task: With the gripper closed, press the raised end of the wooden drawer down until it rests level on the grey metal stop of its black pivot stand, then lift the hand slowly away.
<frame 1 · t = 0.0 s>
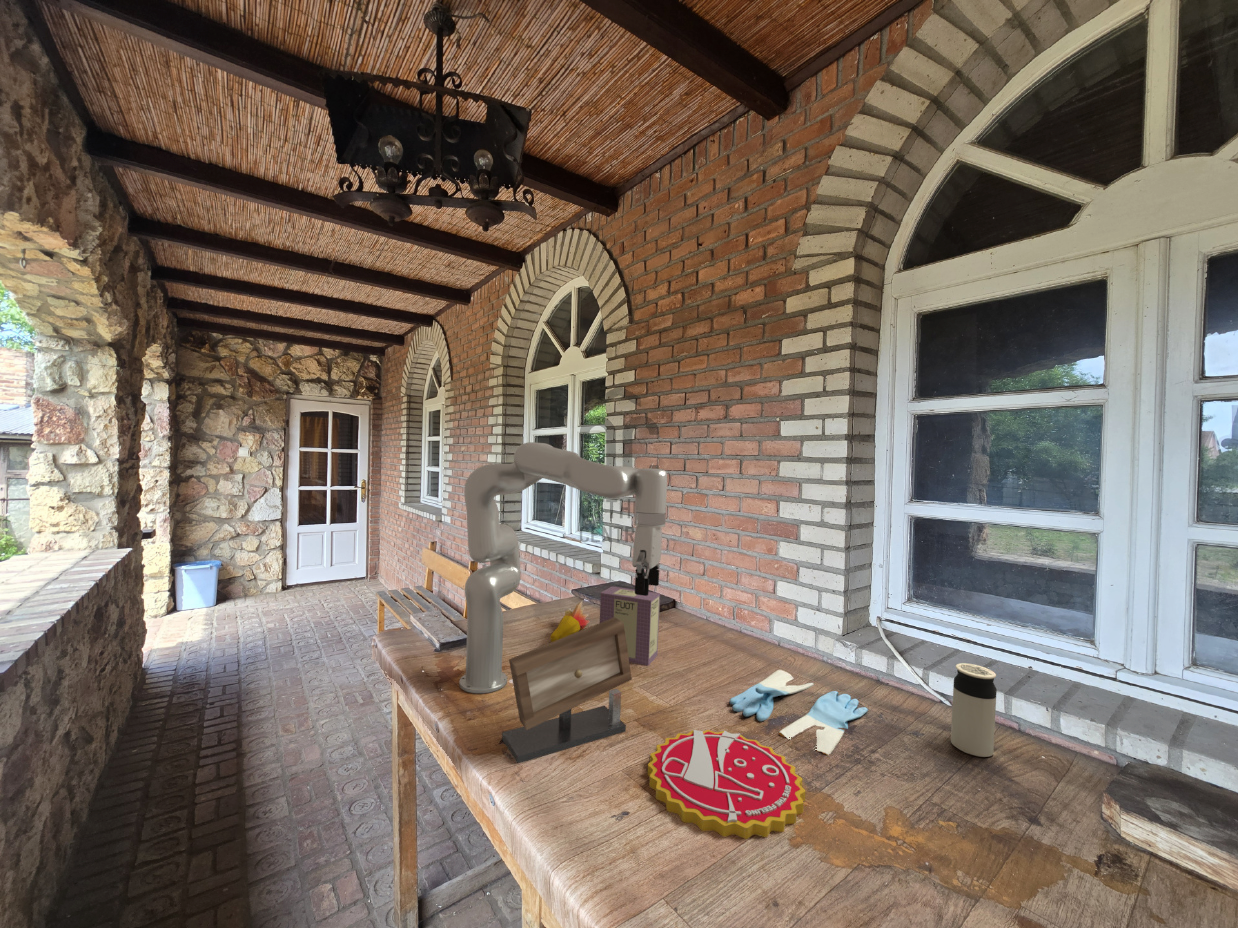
hand: (647, 589, 122), 31 cm above the table, tool pointing down, fingers open, 9 cm apart
rubber gloves: (798, 710, 130), on the table
torch: (567, 636, 175), on the table
wooden drawer: (574, 670, 110), point 16 cm above the table, hinge at 12.0°
box: (628, 656, 160), on the table
pivot stand: (570, 741, 111), on the table
decorative sign: (723, 783, 100), on the table
travel mug: (971, 748, 115), on the table
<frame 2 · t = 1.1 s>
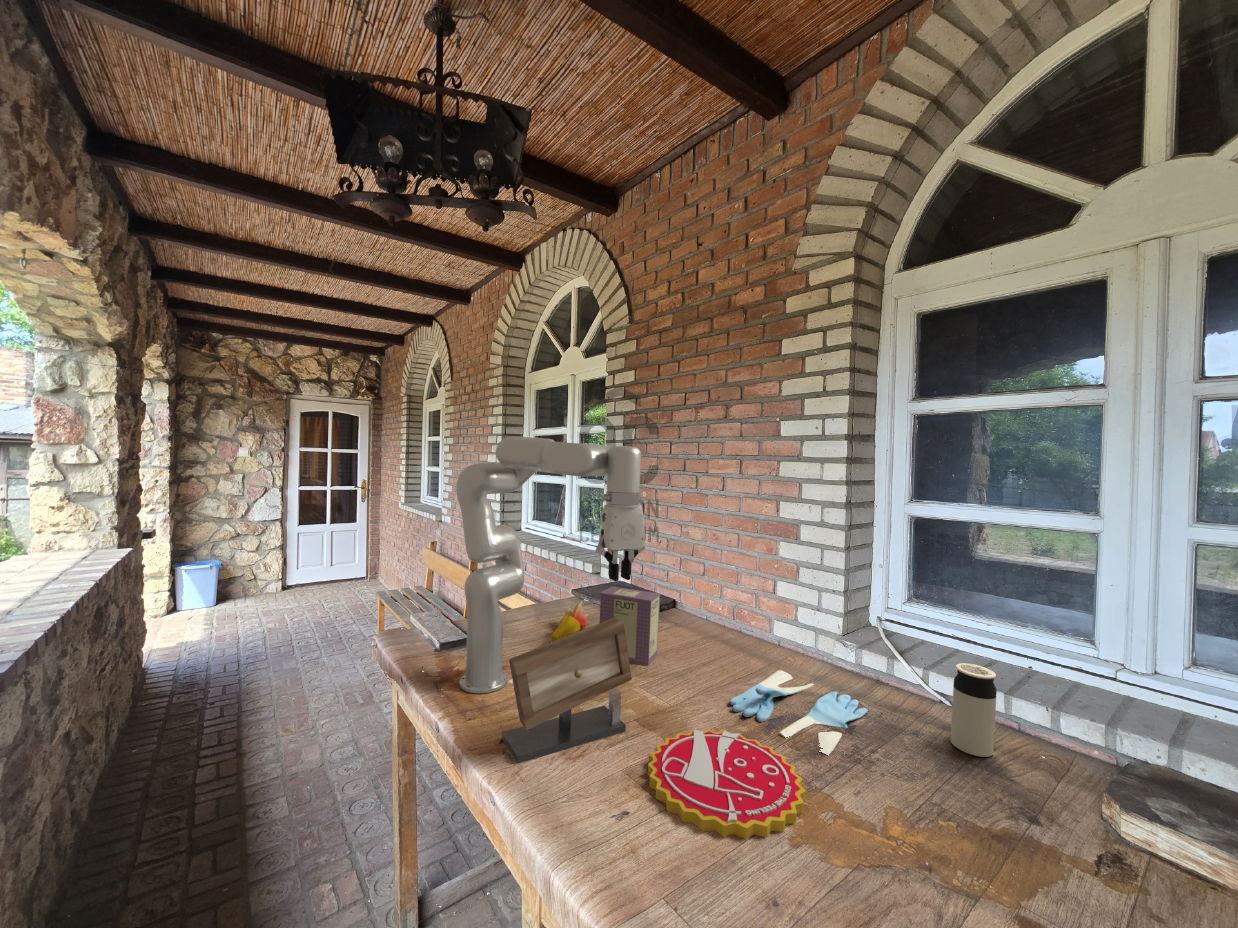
hand: (619, 578, 116), 35 cm above the table, tool pointing down, fingers closed
nothing on the table moved.
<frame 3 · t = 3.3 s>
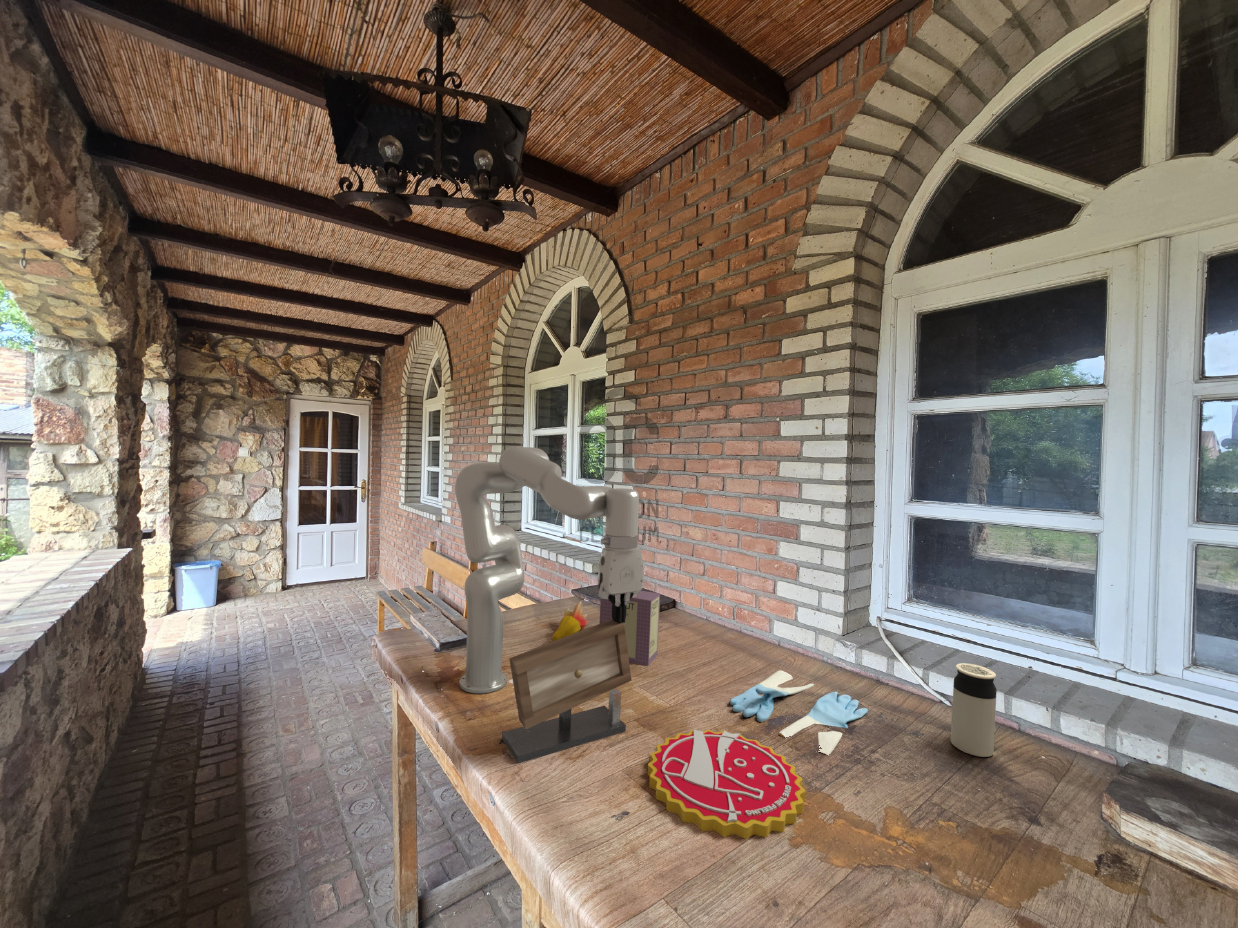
hand: (618, 621, 116), 25 cm above the table, tool pointing down, fingers closed
wooden drawer: (574, 670, 110), point 16 cm above the table, hinge at 11.1°, touching gripper
everything else where it was.
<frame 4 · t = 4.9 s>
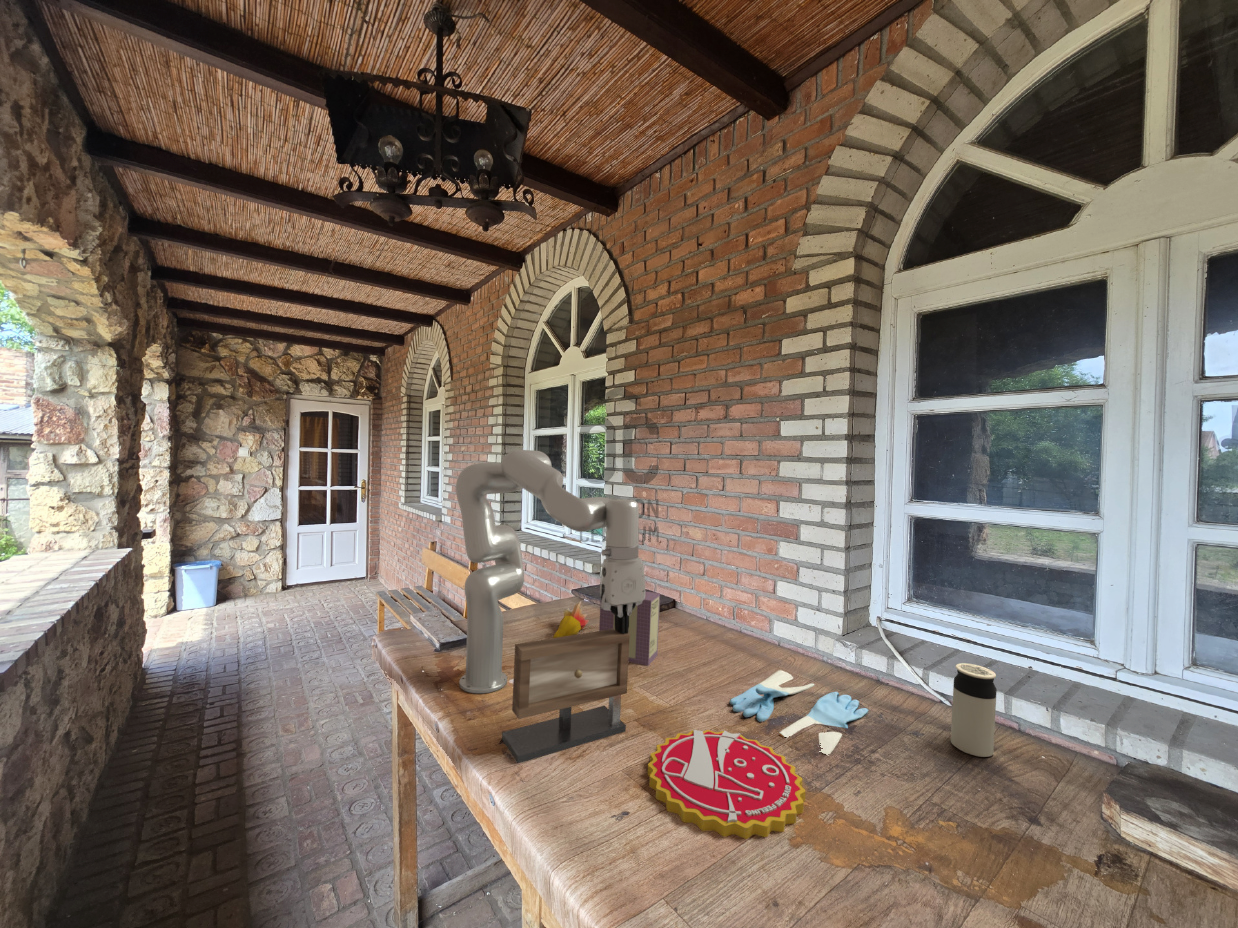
hand: (621, 632, 116), 23 cm above the table, tool pointing down, fingers closed
wooden drawer: (574, 670, 110), point 16 cm above the table, hinge at -0.6°, touching gripper, pivot stand
everything else where it was.
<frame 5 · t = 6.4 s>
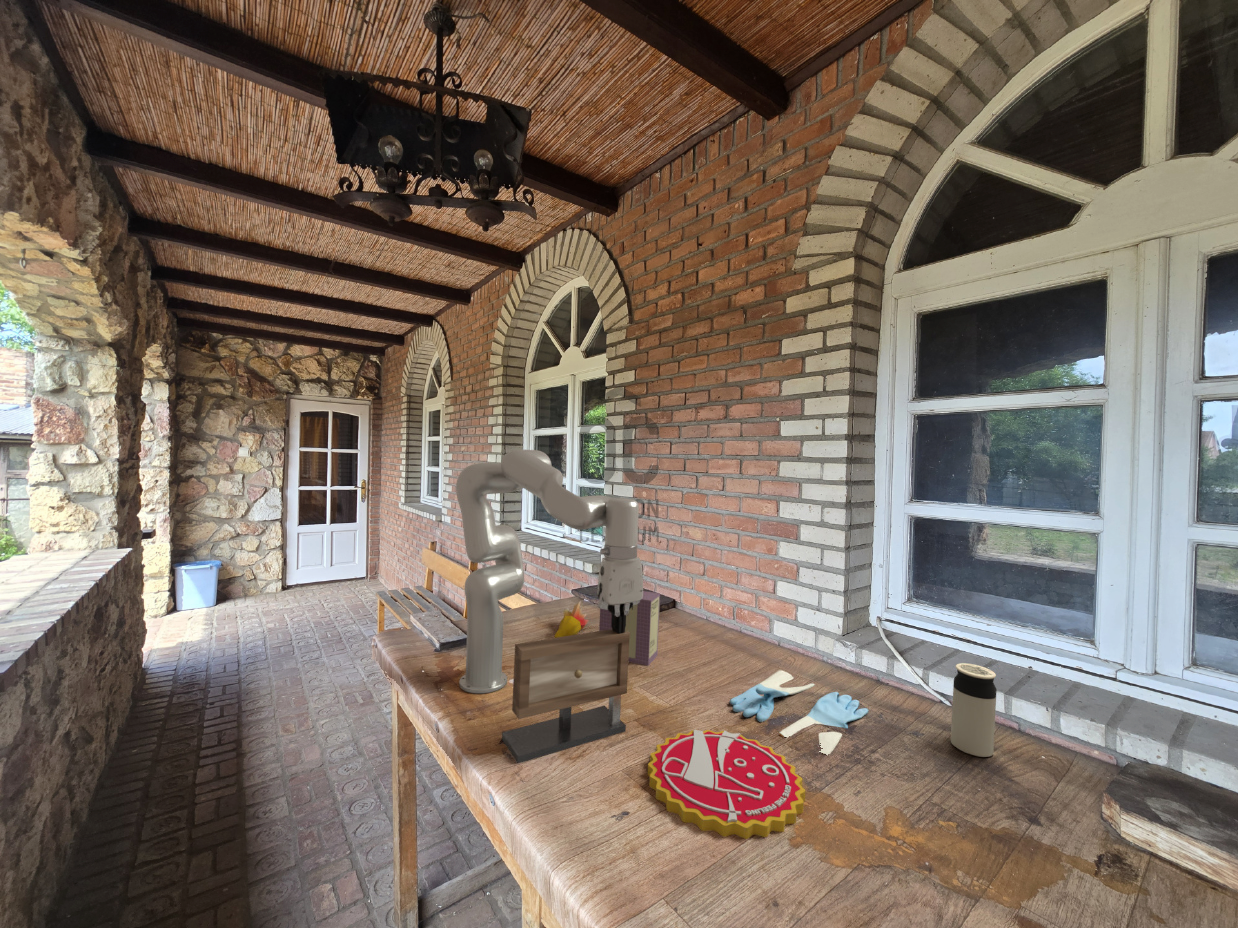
hand: (618, 631, 116), 23 cm above the table, tool pointing down, fingers closed
nothing on the table moved.
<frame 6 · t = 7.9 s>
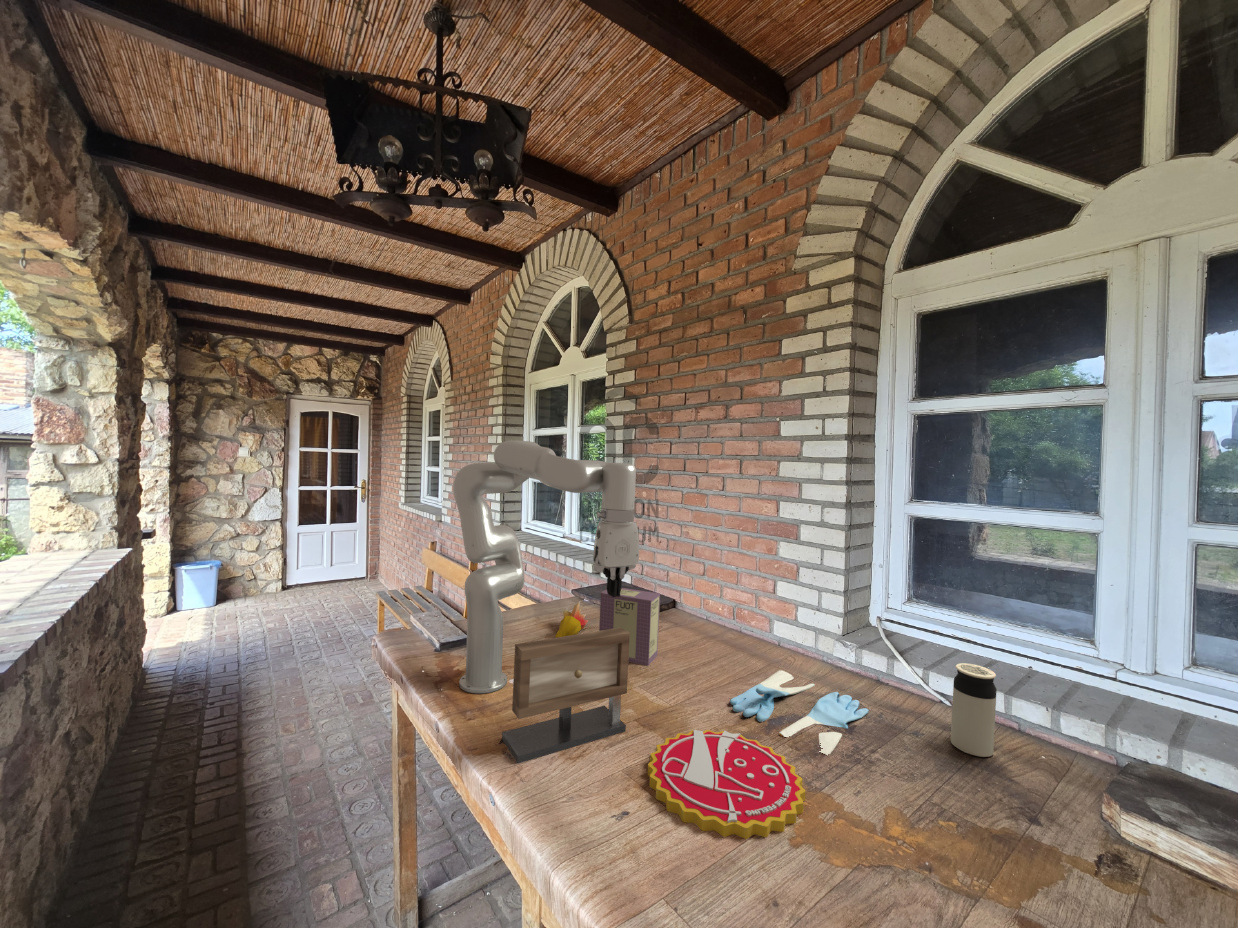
hand: (613, 595, 116), 31 cm above the table, tool pointing down, fingers closed
wooden drawer: (574, 670, 110), point 16 cm above the table, hinge at -0.5°, touching pivot stand
everything else where it was.
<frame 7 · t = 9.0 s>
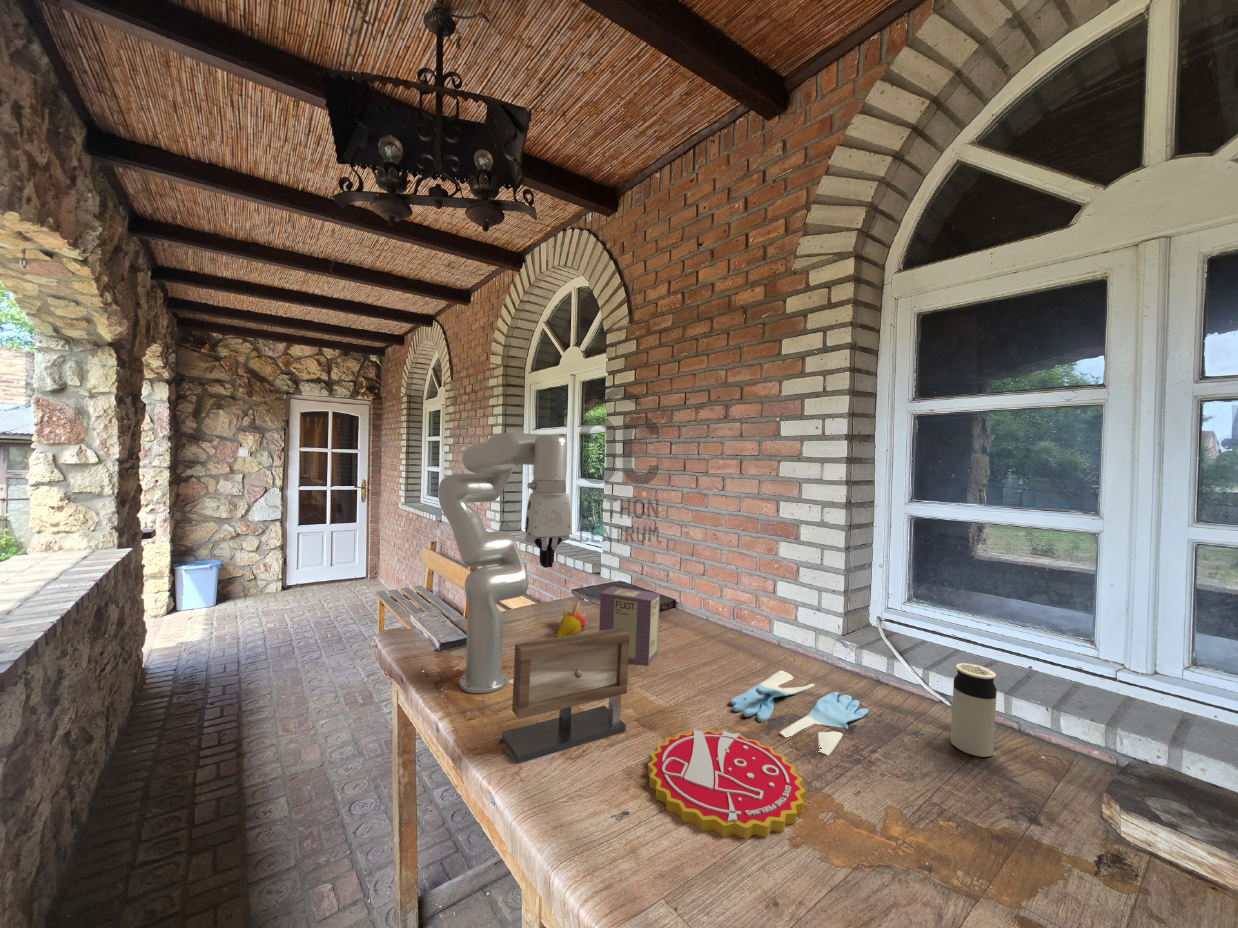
hand: (546, 566, 117), 37 cm above the table, tool pointing down, fingers closed
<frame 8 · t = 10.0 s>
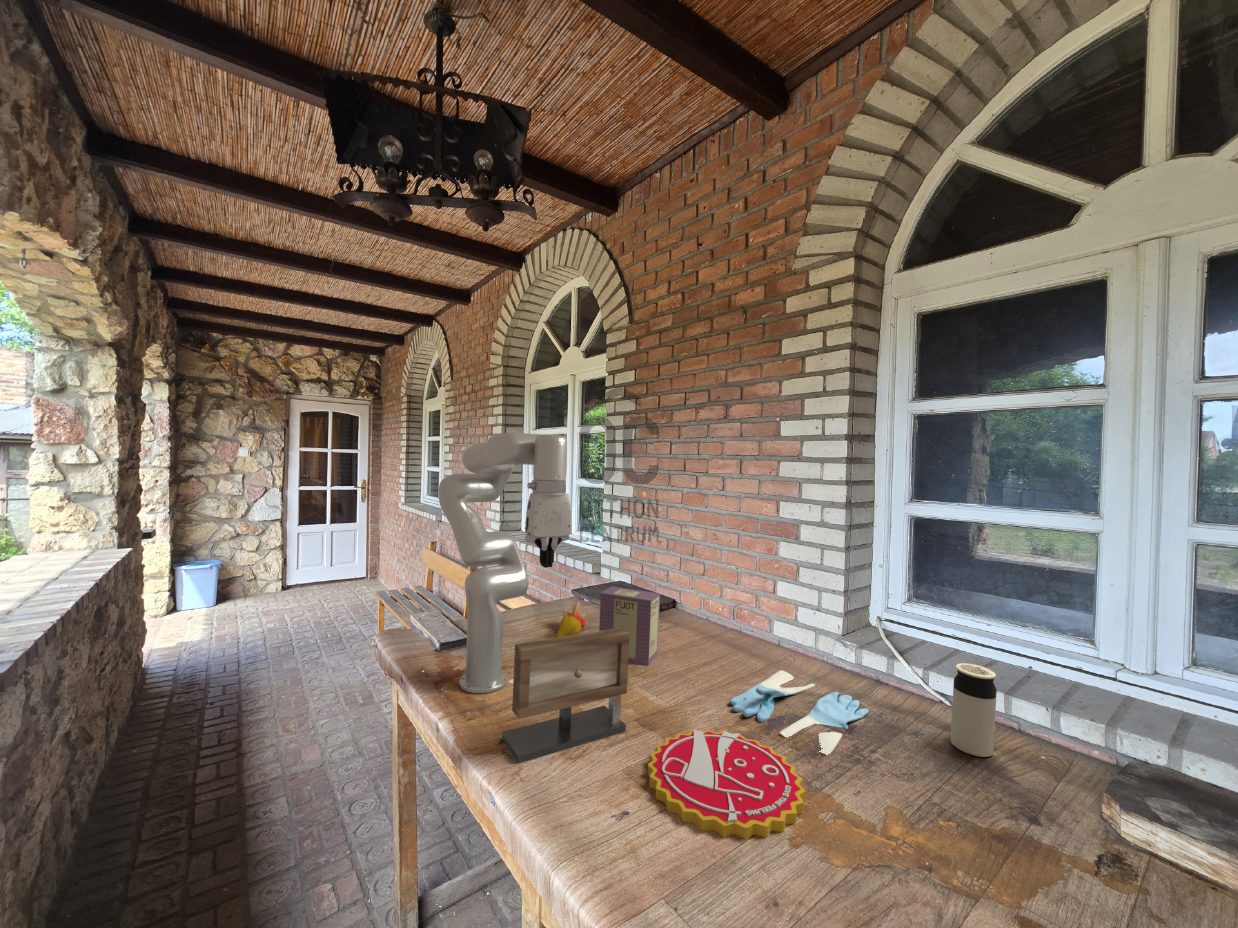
hand: (546, 566, 117), 37 cm above the table, tool pointing down, fingers closed
nothing on the table moved.
at the end: wooden drawer at +0° (first picture: +12°); the gripper is holding nothing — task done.
